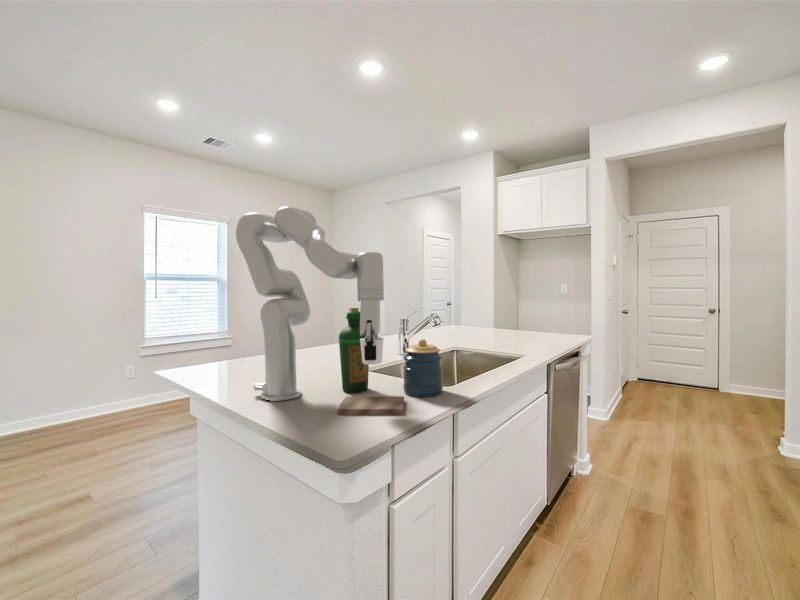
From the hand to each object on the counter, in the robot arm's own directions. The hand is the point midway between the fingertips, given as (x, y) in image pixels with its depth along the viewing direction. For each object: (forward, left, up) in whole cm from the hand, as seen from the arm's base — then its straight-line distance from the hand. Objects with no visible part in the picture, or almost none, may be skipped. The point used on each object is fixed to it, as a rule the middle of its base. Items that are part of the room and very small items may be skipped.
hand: (372, 357), depth 107 cm
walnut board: (0, 0, -15) cm, 15 cm away
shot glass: (0, 0, -2) cm, 2 cm away
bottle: (-8, +19, -15) cm, 25 cm away
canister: (+15, +16, -15) cm, 27 cm away
